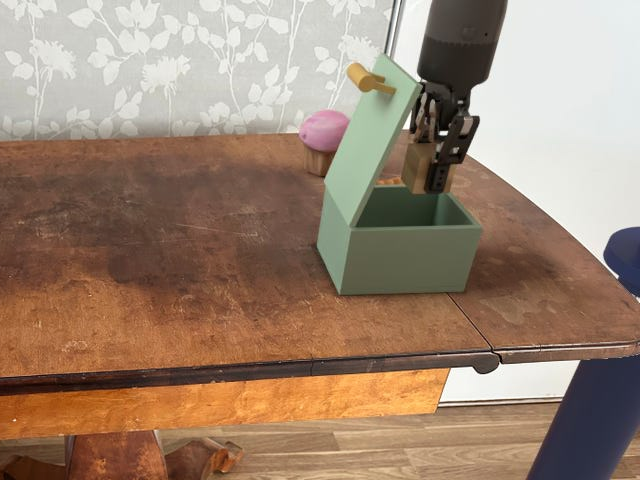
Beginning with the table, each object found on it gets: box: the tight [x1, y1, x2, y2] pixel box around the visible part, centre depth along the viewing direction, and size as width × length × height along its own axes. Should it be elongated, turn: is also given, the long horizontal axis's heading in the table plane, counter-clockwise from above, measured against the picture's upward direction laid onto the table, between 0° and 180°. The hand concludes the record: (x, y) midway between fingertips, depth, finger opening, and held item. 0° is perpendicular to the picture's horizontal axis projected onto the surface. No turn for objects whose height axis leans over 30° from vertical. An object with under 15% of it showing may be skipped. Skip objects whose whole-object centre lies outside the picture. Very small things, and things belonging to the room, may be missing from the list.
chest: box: [316, 184, 484, 296], centre depth 89 cm, size 16×13×9 cm
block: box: [400, 142, 458, 194], centre depth 84 cm, size 4×4×4 cm
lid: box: [323, 51, 423, 227], centre depth 81 cm, size 16×13×5 cm
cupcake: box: [298, 109, 351, 177], centre depth 114 cm, size 9×9×10 cm
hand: (425, 183), depth 85 cm, fingers closed on block, 4 cm apart
